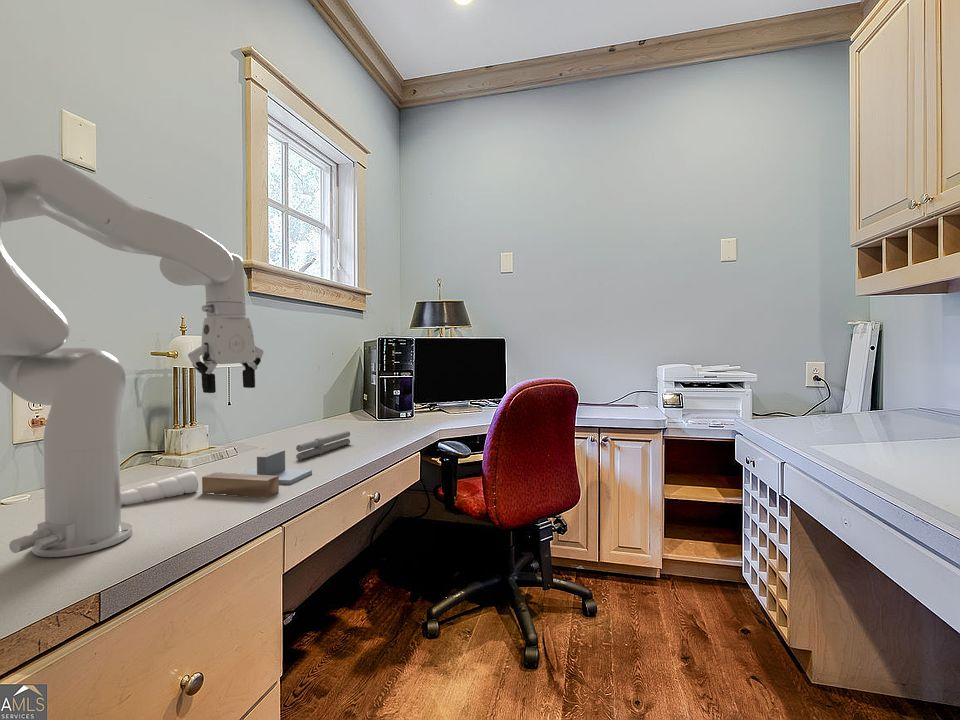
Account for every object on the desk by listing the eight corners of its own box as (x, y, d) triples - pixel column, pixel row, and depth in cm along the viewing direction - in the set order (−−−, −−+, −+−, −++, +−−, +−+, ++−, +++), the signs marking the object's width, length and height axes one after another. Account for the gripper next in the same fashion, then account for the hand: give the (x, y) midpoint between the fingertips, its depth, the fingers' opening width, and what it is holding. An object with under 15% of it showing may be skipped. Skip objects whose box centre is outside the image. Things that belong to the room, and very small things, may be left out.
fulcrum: (290, 484, 113) (289, 458, 112) (228, 481, 115) (228, 456, 115) (312, 473, 122) (311, 450, 122) (254, 471, 125) (254, 448, 125)
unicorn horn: (55, 513, 94) (54, 488, 94) (194, 490, 109) (194, 469, 109) (55, 519, 90) (55, 493, 90) (199, 494, 106) (199, 473, 106)
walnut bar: (267, 499, 102) (267, 480, 102) (202, 495, 106) (202, 477, 105) (278, 493, 106) (278, 475, 106) (215, 490, 109) (215, 472, 109)
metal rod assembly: (344, 444, 162) (344, 430, 162) (351, 445, 162) (351, 430, 162) (293, 461, 138) (293, 443, 138) (302, 461, 137) (302, 444, 137)
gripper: (199, 309, 95) (204, 395, 96) (271, 312, 111) (274, 386, 112) (175, 310, 98) (180, 394, 99) (248, 313, 114) (251, 385, 115)
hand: (230, 390), depth 105 cm, fingers open, 9 cm apart
